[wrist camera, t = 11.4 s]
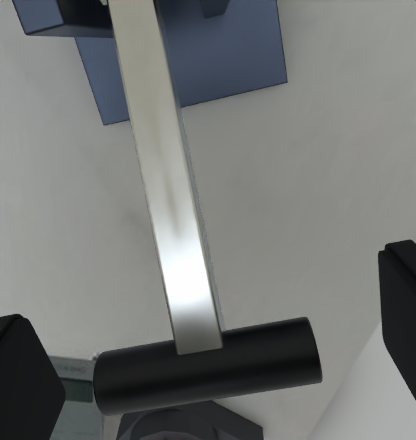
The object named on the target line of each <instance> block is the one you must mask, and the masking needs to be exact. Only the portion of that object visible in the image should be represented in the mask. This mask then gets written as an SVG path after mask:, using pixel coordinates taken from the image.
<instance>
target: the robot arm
mask: <svg viewBox="0 0 416 440" xmlns="http://www.w3.org/2000/svg"><path fill="white" fill-rule="evenodd" d="M378 265H379V282H380V300H381V317H382V334H383V340H384V343H385V346H386V348H387V350H388V352H389V354H390V355H391V357H392V359H393V361H394V363H395V364H396V366H397V368H398V370H399V371H400V373H401V375H402V377H403V379H404V380H405V382H406V384H407V386H408V388H409V389H410V391H411V393H412V394H413V396H414V398H415V400H416V244H415V243H414V242H413V241H412V240H404V241H399V242H394V243H388V244H386V245H385V250H383V251H379V253H378ZM64 402H65V389H64V386H63V384H62V382H61V380H60V378H59V376H58V375H57V373H56V371H55V369H54V367H53V365H52V363H51V361H50V359H49V357H48V355H47V353H46V351H45V349H44V348H43V346H42V344H41V342H40V340H39V338H38V336H37V334H36V332H35V330H34V328H33V326H32V324H31V323H30V321H29V320H28V319H27V318H23V316H21V315H20V314H13V315H8V316H3V317H0V440H49V439H50V436H51V434H52V431H53V429H54V427H55V424H56V422H57V419H58V417H59V414H60V412H61V409H62V407H63V404H64Z"/></svg>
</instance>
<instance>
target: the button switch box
mask: <svg viewBox="0 0 416 440" xmlns="http://www.w3.org/2000/svg"><path fill="white" fill-rule="evenodd" d="M116 440H264V438H263V430H262V427H260V426H258V425H256V424H254V423H252V422H250V421H248V420H247V419H245V418H243V417H241V416H239V415H237V414H235V413H233V412H231V411H230V410H228V409H226V408H224V407H222V406H220V405H218V404H216V403H214V402H213V401H211V400H208V401H201V402H195V403H189V404H182V405H176V406H169V407H163V408H157V409H150V410H144V411H138V412H131V413H126V414H125V415H124V416H123V417H122V418H121V422H120V426H119V430H118V434H117V438H116Z"/></svg>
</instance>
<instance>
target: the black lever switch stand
mask: <svg viewBox="0 0 416 440" xmlns="http://www.w3.org/2000/svg"><path fill="white" fill-rule="evenodd" d="M12 2H13V4H14V7H15V9H16V12H17V15H18V17H19V20H20V23H21V25H22V28H23V30H24V33H25V34H26V35H29V36H60V37H74V38H75V41H76V44H77V47H78V50H79V53H80V56H81V59H82V62H83V65H84V68H85V71H86V74H87V77H88V80H89V83H90V86H91V89H92V92H93V95H94V98H95V101H96V104H97V107H98V110H99V113H100V116H101V119H102V122H103V125H109V124H113V123H117V122H122V121H126V120H130V117H129V112H128V107H127V102H126V97H125V92H124V87H123V82H122V77H121V71H120V66H119V61H118V56H117V51H116V46H115V41H114V36H113V31H112V26H111V21H110V16H109V11H108V6H107V5H102V4H101V3H100V1H99V0H12ZM159 2H160V7H161V12H162V17H163V22H164V27H165V32H166V37H167V42H168V47H169V52H170V57H171V62H172V67H173V72H174V76H175V81H176V86H177V91H178V96H179V101H180V106H181V107H185V106H190V105H194V104H198V103H202V102H207V101H211V100H215V99H219V98H224V97H228V96H232V95H236V94H241V93H245V92H249V91H253V90H257V89H262V88H266V87H270V86H274V85H279V84H283V83H287V82H288V81H287V73H286V66H285V59H284V52H283V44H282V37H281V30H280V23H279V15H278V8H277V1H276V0H159Z"/></svg>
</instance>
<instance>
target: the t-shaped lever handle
mask: <svg viewBox="0 0 416 440" xmlns="http://www.w3.org/2000/svg"><path fill="white" fill-rule="evenodd" d="M99 1H100V3H101V4H102V5H107V6H108V11H109V16H110V21H111V26H112V31H113V36H114V41H115V46H116V51H117V56H118V61H119V66H120V71H121V77H122V82H123V87H124V92H125V97H126V102H127V107H128V112H129V117H130V122H131V127H132V132H133V137H134V142H135V147H136V152H137V157H138V162H139V167H140V172H141V177H142V182H143V187H144V192H145V197H146V202H147V207H148V212H149V217H150V222H151V227H152V232H153V237H154V242H155V248H156V253H157V258H158V263H159V268H160V273H161V278H162V283H163V288H164V293H165V298H166V303H167V308H168V313H169V318H170V323H171V328H172V333H173V338H174V340H169V341H163V342H157V343H151V344H146V345H140V346H134V347H128V348H123V349H117V350H111V351H106V352H103V353H101V354H100V355H99V357H98V358H97V361H96V363H95V368H94V376H93V387H94V395H95V400H96V403H97V406H98V408H99V410H100V412H101V413H102V414H103V415H106V416H112V415H118V414H125V413H131V412H138V411H144V410H150V409H157V408H163V407H169V406H176V405H182V404H189V403H195V402H201V401H208V400H214V399H220V398H227V397H233V396H240V395H246V394H252V393H259V392H265V391H271V390H278V389H284V388H291V387H297V386H303V385H310V384H316V383H321V382H322V369H321V363H320V358H319V353H318V349H317V345H316V341H315V337H314V334H313V330H312V327H311V324H310V322H309V320H308V318H307V317H300V318H295V319H289V320H283V321H277V322H272V323H266V324H260V325H255V326H249V327H243V328H237V329H232V330H226V329H225V324H224V319H223V314H222V309H221V304H220V299H219V294H218V290H217V285H216V280H215V275H214V270H213V265H212V260H211V255H210V250H209V245H208V240H207V235H206V230H205V225H204V220H203V215H202V210H201V205H200V200H199V195H198V190H197V185H196V181H195V176H194V171H193V166H192V161H191V156H190V151H189V146H188V141H187V136H186V131H185V126H184V121H183V116H182V111H181V106H180V101H179V96H178V91H177V86H176V81H175V76H174V72H173V67H172V62H171V57H170V52H169V47H168V42H167V37H166V32H165V27H164V22H163V17H162V12H161V7H160V2H159V0H99Z"/></svg>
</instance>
